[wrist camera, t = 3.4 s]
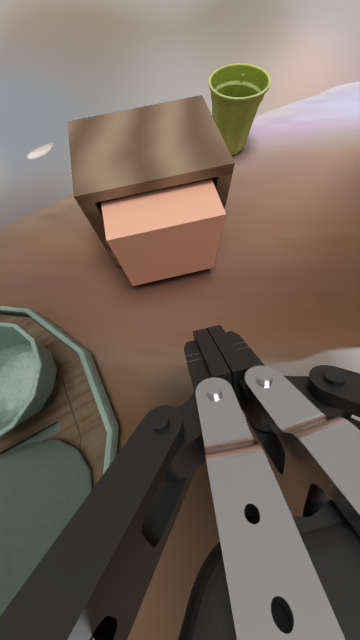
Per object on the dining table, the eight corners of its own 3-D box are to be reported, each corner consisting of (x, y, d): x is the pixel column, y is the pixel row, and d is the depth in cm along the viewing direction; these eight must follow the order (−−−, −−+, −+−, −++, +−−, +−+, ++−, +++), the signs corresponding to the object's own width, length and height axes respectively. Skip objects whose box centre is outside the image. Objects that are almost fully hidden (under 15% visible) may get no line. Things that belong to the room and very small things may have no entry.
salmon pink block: (196, 218, 30) (200, 151, 21) (213, 267, 27) (226, 214, 18) (123, 234, 30) (96, 173, 21) (132, 286, 27) (106, 240, 18)
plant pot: (255, 161, 35) (275, 95, 27) (205, 164, 36) (210, 99, 27) (249, 130, 38) (266, 61, 30) (203, 132, 39) (207, 64, 30)
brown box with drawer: (197, 192, 34) (202, 95, 22) (216, 245, 30) (234, 162, 19) (109, 210, 33) (67, 121, 22) (118, 268, 29) (74, 196, 18)
